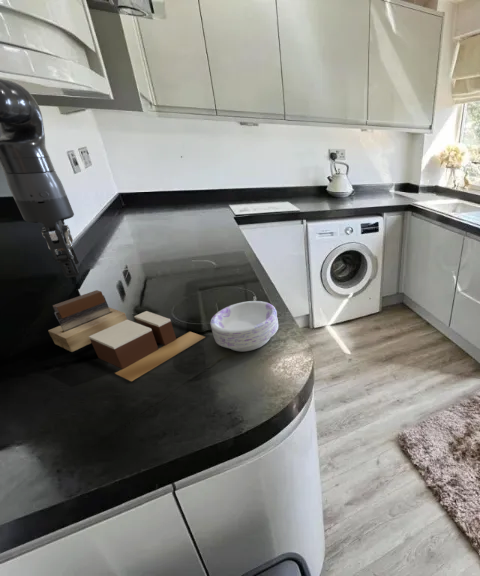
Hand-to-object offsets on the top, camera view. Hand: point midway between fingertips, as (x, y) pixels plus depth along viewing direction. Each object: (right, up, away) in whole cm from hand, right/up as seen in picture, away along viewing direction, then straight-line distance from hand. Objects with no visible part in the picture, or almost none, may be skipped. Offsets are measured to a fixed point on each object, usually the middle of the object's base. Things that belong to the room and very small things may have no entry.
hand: (73, 270), depth 72 cm
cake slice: (+12, -17, +10) cm, 23 cm away
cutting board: (+11, -19, +7) cm, 23 cm away
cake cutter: (-5, -17, +11) cm, 21 cm away
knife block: (-5, -17, +11) cm, 21 cm away
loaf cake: (+9, -19, +4) cm, 22 cm away
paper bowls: (+34, -18, +11) cm, 40 cm away
